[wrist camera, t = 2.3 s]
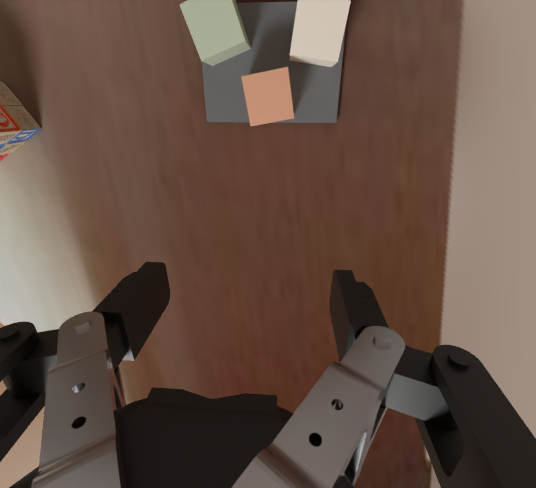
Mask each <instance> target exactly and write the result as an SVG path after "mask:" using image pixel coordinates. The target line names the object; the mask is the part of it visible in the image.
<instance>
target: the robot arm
mask: <svg viewBox="0 0 536 488" xmlns="http://www.w3.org/2000/svg"><path fill="white" fill-rule="evenodd" d="M169 299H170V288H169V282H168V276H167V271H166V266H165V264H164V263H162V262H145V263H144V264H143V266H142V267H141V268H140V269H139V270H138V271H137V272H133V273H132V274H130V275H128V276H126V277H125V278H123V279H122V280H121V281H120V282H119V284H118V285H117V287H115V288H114V289H113V290H112V291H111V293H109V294H108V295H107V296H106V297H105V298H104V299H103V301H102V302H101V303H100V304H99V305H98V306H97V307H96V308H95V309H94V310H93V311H92V312H85V313H81V314H78V315H75V316H73V317H71V318H69V319H68V320H66V321H65V322H64V323H63V324H62V325H61V326H60V328H59V329H56V330H50V331H44V332H38V333H37V331H36V328H35V326H34V325H33V324H32V323H30V322H17V323H13V324H10V325H7V326H4V327H2V328H0V382H1V381H2V380H3V382H4V384H5V386H6V387H7V389H6V390H5V391H4V393H3V394H2V395H1V396H0V462H1V460H2V459H3V458H4V457H5V455H6V454H7V453H8V451H9V450H10V449H11V448H12V446H13V445H14V444H15V442H16V441H17V440H18V439H19V437H20V436H21V435H22V434H23V432H24V431H25V430H26V429H27V427H28V426H29V425H30V423H31V422H32V421H33V420H34V418H35V417H36V416H37V415H38V413H39V412H40V411H41V409H42V408H43V407H44V406H45V410H44V421H43V431H42V443H41V453H40V463H39V467H37V468H36V469H34V470H33V471H32V472H30V473H29V474H27V475H26V476H25V477H23V478H22V479H21V480H19V481H18V482H16V483H15V484H14V485H12V486H11V487H10V488H355V487H354V484H355V482H356V480H357V478H358V475H359V473H360V471H361V468H362V465H363V463H364V460H365V457H366V454H367V452H368V449H369V447H370V445H371V442H372V440H373V438H374V436H375V434H376V431H377V429H378V427H379V425H380V423H381V420H382V418H383V416H384V414H385V412H386V409H387V407H388V408H391V409H393V410H396V411H399V412H402V413H405V414H407V415H410V416H413V417H415V420H416V423H417V425H418V428H419V431H420V433H421V436H422V439H423V441H424V444H425V447H426V449H427V452H428V455H429V457H430V460H431V463H432V465H433V468H434V471H435V473H436V476H437V478H438V481H439V484H440V486H441V488H536V439H535V437H534V436H533V434H532V433H531V432H530V430H529V429H528V427H527V426H526V425H525V423H524V422H523V420H522V419H521V417H520V416H519V415H518V413H517V412H516V410H515V409H514V408H513V406H512V405H511V403H510V402H509V401H508V399H507V398H506V396H505V395H504V394H503V393H502V391H501V389H500V388H499V387H498V385H497V384H496V382H495V381H494V380H493V378H492V377H491V375H490V374H489V373H488V371H487V370H486V368H485V367H484V366H483V364H482V363H481V362H480V361H479V359H478V358H476V357H475V356H474V355H472V354H471V353H470V352H468V351H466V350H464V349H462V348H459V347H456V346H452V345H440V346H438V347H436V348H435V349H434V351H433V354H431V353H428V352H424V351H421V350H417V349H414V348H411V347H409V346H406V345H405V343H404V341H403V339H402V338H401V337H400V335H398V334H397V333H396V332H394V331H393V330H391V329H389V327H388V325H387V323H386V320H385V318H384V316H383V314H382V311H381V309H380V307H379V306H378V302H377V300H376V299H375V295H374V293H373V291H372V289H371V288H370V287H369V286H368V285H366V284H365V283H364V282H356V280H355V278H354V275H353V272H352V271H351V270H334V272H333V278H332V286H331V294H330V314H331V319H332V325H333V330H334V335H335V340H336V345H337V350H338V356H339V361H340V363H337V362H333V363H331V365H330V366H329V367H328V368H327V370H326V371H325V372H324V374H323V375H322V376H321V378H320V379H319V380H318V382H317V383H316V384H315V386H314V387H313V388H312V390H311V391H310V392H309V394H308V395H307V396H306V398H305V399H304V401H303V402H302V403H301V405H300V406H299V407H298V409H297V410H296V411H295V413H294V414H293V413H291V412H290V411H288V410H286V409H284V408H281V407H278V406H277V396H276V395H261V394H240V395H234V396H229V397H223V398H217V399H209V398H206V397H203V396H200V395H197V394H194V393H191V392H188V391H185V390H183V389H168V388H153V387H152V389H151V391H150V393H149V395H148V397H147V398H146V399H142V400H138V401H135V402H132V403H130V404H127V405H126V402H125V396H124V390H123V384H122V379H121V373H120V369H119V364H120V362H121V361H122V360H132V361H134V360H135V358H136V357H137V355H138V353H139V352H140V350H141V348H142V347H143V345H144V343H145V342H146V340H147V338H148V337H149V335H150V333H151V332H152V330H153V328H154V327H155V325H156V323H157V322H158V320H159V318H160V317H161V315H162V313H163V312H164V310H165V308H166V307H167V305H168V303H169Z"/></svg>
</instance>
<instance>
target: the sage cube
mask: <svg viewBox="0 0 536 488" xmlns="http://www.w3.org/2000/svg"><path fill="white" fill-rule="evenodd" d="M180 7H181V10H182V12H183V15H184V17H185V20H186V23H187V25H188V28H189V30H190V33H191V35H192V38H193V41H194V43H195V46H196V48H197V51H198V53H199V56H200V58H201V61H203V62H205V63H207V64H209V65H211V66H214V65H216V64H218V63H221V62H223V61H225V60H227V59H229V58H232V57H234V56H236V55H238V54H241V53H243V52H245V51H247V50H249V49H251V47H250V44H249V41H248V38H247V35H246V32H245V28H244V25H243V22H242V19H241V16H240V13H239V10H238V7H237V4H236V1H235V0H188V1H186V2H184V3H182V4H180Z"/></svg>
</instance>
